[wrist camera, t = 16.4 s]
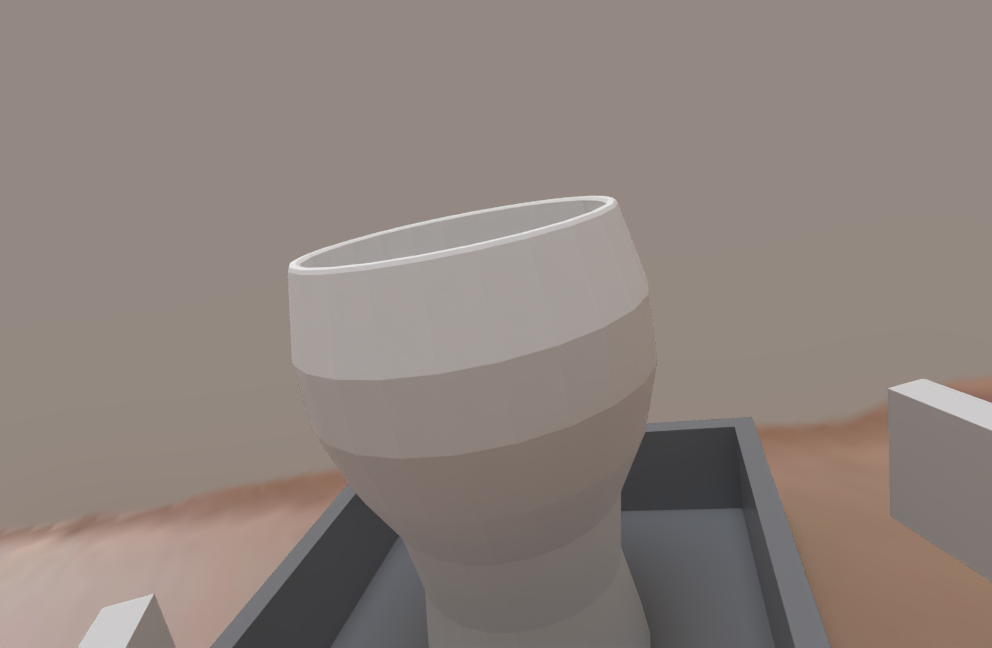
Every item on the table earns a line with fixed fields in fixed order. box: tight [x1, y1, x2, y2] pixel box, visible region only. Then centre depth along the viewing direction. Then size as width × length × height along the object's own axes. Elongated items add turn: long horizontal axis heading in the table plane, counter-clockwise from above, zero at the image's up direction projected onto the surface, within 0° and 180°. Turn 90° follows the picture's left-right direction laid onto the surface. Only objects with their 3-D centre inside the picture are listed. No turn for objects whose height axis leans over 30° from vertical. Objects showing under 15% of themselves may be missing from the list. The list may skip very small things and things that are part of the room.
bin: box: [210, 417, 831, 648], centre depth 21 cm, size 18×18×5 cm
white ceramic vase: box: [288, 196, 657, 648], centre depth 20 cm, size 11×11×15 cm
